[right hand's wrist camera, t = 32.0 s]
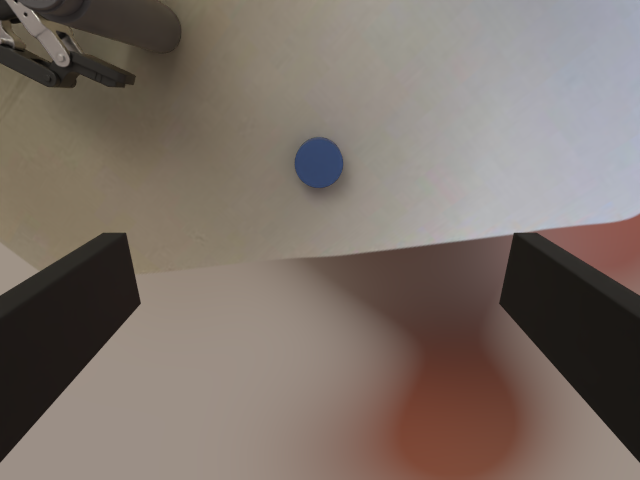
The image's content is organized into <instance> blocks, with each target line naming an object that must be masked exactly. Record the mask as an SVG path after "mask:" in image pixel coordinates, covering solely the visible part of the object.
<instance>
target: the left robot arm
mask: <svg viewBox="0 0 640 480" xmlns="http://www.w3.org/2000/svg"><path fill="white" fill-rule="evenodd" d="M21 22H22V24H23V25H24V27H25V28H26V29H27V31H28V32H29V33H30V34H31V35H32V36H34V37H35V38H37V39H38V40H39V41H40V43H41V44H42V45H43V47H44V48H45V49H46V51H47V52H48V54H49V55H50V56H51V58H52V59H53V61H52V63H51V62H49V61H47V60H45V59H43V58H41V57H39V56H37V55H35V54H33V53H31V52H29V51H27V50H25V48H26V44H25V43H24V42H22V40H21V39H20V38H19V37H18V36H16V35H15V34H14V32H13V31H12V28H11V23H13V24H17V23H21ZM73 35H74V34H73V31H72V30H71V28H70V27H69V26H66V25H63V24H59V23H56V22H53V21H50V20H48V19H46V18H45V17H43V16H42V15H40V14H39V13H38V12H36V11H32V10H30V9H29V8H27V7H25V6H23V5H22V4H21V3H20V2H19V1H17V0H0V63H1V64H3V65H5V66H7V67H9V68H11V69H13V70H15V71H17V72H19V73H21V74H23V75H25V76H27V77H29V78H31V79H33V80H35V81H37V82H39V83H41V84H43V85H45V86H47V87H59V88H73V87H75V86H76V83H77V81H76V78H77V77H78V75H79V74H81V75H83V76H86V77H88V78H90V79H92V80H94V81H97V82H99V83H101V84H103V85H106V86H108V87H121V88H125V84H129V85H134V81H135V77H136V76H135V75H133V74H131V73H129V72H127V71H125V70H122V69H120V68H118V67H116V66H114V65H112V64H109V63H107V62H105V61H103V60H101V59H99V58H96V57H94V56H92V55H88V54H85V53H84V52H83V50H82V49H81V48H80V46H79V45H78V43H77V42H76V40H75V39H74V37H73Z"/></svg>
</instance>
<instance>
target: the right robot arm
mask: <svg viewBox="0 0 640 480" xmlns="http://www.w3.org/2000/svg"><path fill="white" fill-rule="evenodd" d="M140 304H141V302H140V297H139V293H138V288H137V283H136V279H135V274H134V269H133V264H132V259H131V254H130V250H129V245H128V240H127V235H126V233H102V234H101V235H99V236H97V237H96V238H94V239H92V240H91V241H89V242H87V243H86V244H84V245H83V246H81V247H79V248H78V249H76V250H74V251H73V252H71V253H69V254H68V255H66V256H65V257H63V258H61V259H60V260H58V261H56V262H55V263H53V264H51V265H50V266H48V267H46V268H45V269H43V270H42V271H40V272H38V273H37V274H35V275H33V276H32V277H30V278H28V279H27V280H25V281H24V282H22V283H20V284H19V285H17V286H15V287H14V288H12V289H10V290H9V291H7V292H6V293H4V294H2V295H1V296H0V462H1V461H2V460H3V459H4V458H5V457H6V455H7V454H8V453H9V452H10V451H11V450H12V449H13V448H14V446H15V445H16V444H17V443H18V442H19V441H20V440H21V439H22V437H23V436H24V435H25V434H26V433H27V432H28V431H29V429H30V428H31V427H32V426H33V425H34V424H35V423H36V422H37V420H38V419H39V418H40V417H41V416H42V415H43V414H44V413H45V411H46V410H47V409H48V408H49V407H50V406H51V405H52V403H53V402H54V401H55V400H56V399H57V398H58V397H59V396H60V394H61V393H62V392H63V391H64V390H65V389H66V388H67V386H68V385H69V384H70V383H71V382H72V381H73V380H74V379H75V377H76V376H77V375H78V374H79V373H80V372H81V371H82V369H83V368H84V367H85V366H86V365H87V364H88V363H89V362H90V360H91V359H92V358H93V357H94V356H95V355H96V354H97V353H98V351H99V350H100V349H101V348H102V347H103V346H104V345H105V343H106V342H107V341H108V340H109V339H110V338H111V337H112V336H113V334H114V333H115V332H116V331H117V330H118V329H119V328H120V326H121V325H122V324H123V323H124V322H125V321H126V320H127V319H128V317H129V316H130V315H131V314H132V313H133V312H134V311H135V309H136V308H137V307H138V306H139V305H140ZM499 304H500V305H501V306H502V307H503V308H504V310H505V311H506V312H507V313H508V314H509V315H510V316H511V317H512V319H513V320H514V321H515V322H516V323H517V324H518V325H519V326H520V328H521V329H522V330H523V331H524V332H525V333H526V334H527V335H528V337H529V338H530V339H531V340H532V341H533V342H534V343H535V345H536V346H537V347H538V348H539V349H540V350H541V351H542V352H543V354H544V355H545V356H546V357H547V358H548V359H549V360H550V362H551V363H552V364H553V365H554V366H555V367H556V368H557V369H558V371H559V372H560V373H561V374H562V375H563V376H564V377H565V379H566V380H567V381H568V382H569V383H570V384H571V385H572V386H573V388H574V389H575V390H576V391H577V392H578V393H579V394H580V395H581V397H582V398H583V399H584V400H585V401H586V402H587V403H588V405H589V406H590V407H591V408H592V409H593V410H594V411H595V412H596V414H597V415H598V416H599V417H600V418H601V419H602V420H603V422H604V423H605V424H606V425H607V426H608V427H609V428H610V429H611V431H612V432H613V433H614V434H615V435H616V436H617V437H618V439H619V440H620V441H621V442H622V443H623V444H624V445H625V446H626V448H627V449H628V450H629V451H630V452H631V453H632V454H633V456H634V457H635V458H636V459H637V460H638V461H639V462H640V296H639V295H638V294H636V293H634V292H633V291H631V290H630V289H628V288H626V287H625V286H623V285H621V284H620V283H618V282H616V281H615V280H613V279H612V278H610V277H608V276H607V275H605V274H603V273H602V272H600V271H598V270H597V269H595V268H593V267H592V266H590V265H589V264H587V263H585V262H584V261H582V260H580V259H579V258H577V257H575V256H574V255H572V254H571V253H569V252H567V251H566V250H564V249H562V248H561V247H559V246H557V245H556V244H554V243H553V242H551V241H549V240H548V239H546V238H544V237H543V236H541V235H539V234H538V233H514V235H513V240H512V245H511V250H510V254H509V259H508V264H507V269H506V274H505V278H504V283H503V288H502V293H501V298H500V302H499Z"/></svg>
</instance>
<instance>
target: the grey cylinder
mask: <svg viewBox="0 0 640 480" xmlns="http://www.w3.org/2000/svg"><path fill="white" fill-rule="evenodd" d="M17 1H19V2H20V3H21V4H22V5H23V6H25V7H27V8H29V9H30V10H32V11H36V12H38V13H39V14H40V15H42V16H43V17H45V18H46V19H48V20H50V21H53V22H56V23H59V24H63V25H66V26H69V27H73V28H76V29H79V30H83V31H86V32H89V33H93V34H96V35H100V36H103V37H106V38H110V39H113V40H116V41H120V42H123V43H126V44H130V45H133V46H137V47H140V48H143V49H147V50H150V51H153V52H157V53H168V52H170V51H172V50H173V49H174V48H175V47H176V46H177V45H178V43H179V41H180V37H181V27H180V23H179V20H178V18H177V16H176V15H175V13H174V12H173V11H172V10H171V9H170V8H169V7H167V6H166V5H164V4H163V3H161V2H159V1H158V0H17Z"/></svg>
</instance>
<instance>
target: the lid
mask: <svg viewBox="0 0 640 480" xmlns="http://www.w3.org/2000/svg"><path fill="white" fill-rule="evenodd" d="M295 169H296V172H297V175H298V176H299V178H300V179H301V180H302V181H303V182H304V183H305V184H307V185H309V186H311V187H315V188H323V187H327V186H329V185H331V184H333V183H334V182H335V181H336V180H337V179H338V178H339V176H340V174H341V172H342V169H343V159H342V155H341V152H340V150H339V148H338V147H337V145H336V144H335V143H333V142H332V141H331V140H329V139H327V138H322V137H315V138H311V139H309V140H307V141H306V142H304V143H303V144H302V145H301V147H300V148H299V150H298V152H297V155H296V158H295Z"/></svg>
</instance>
